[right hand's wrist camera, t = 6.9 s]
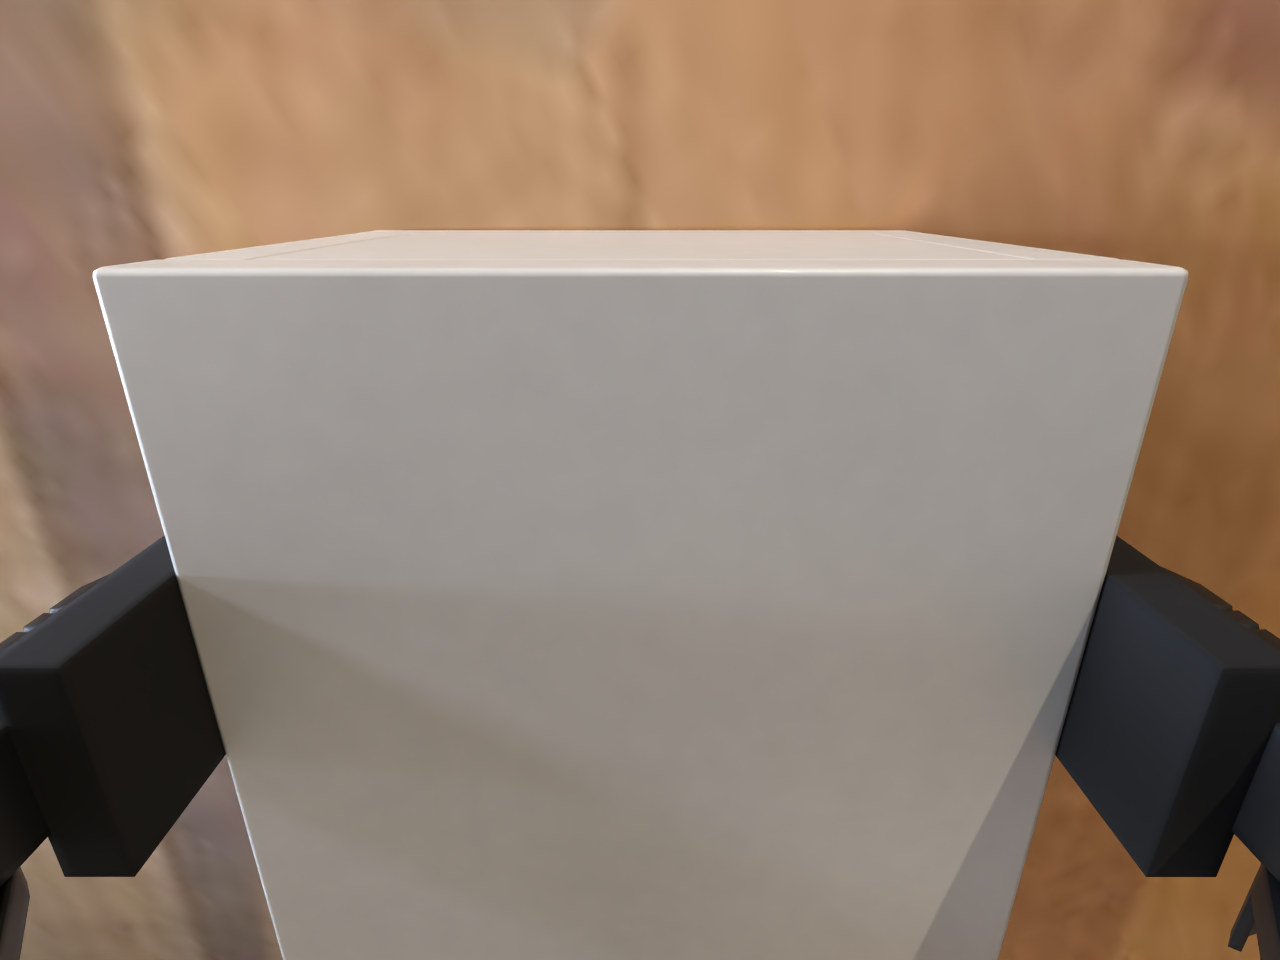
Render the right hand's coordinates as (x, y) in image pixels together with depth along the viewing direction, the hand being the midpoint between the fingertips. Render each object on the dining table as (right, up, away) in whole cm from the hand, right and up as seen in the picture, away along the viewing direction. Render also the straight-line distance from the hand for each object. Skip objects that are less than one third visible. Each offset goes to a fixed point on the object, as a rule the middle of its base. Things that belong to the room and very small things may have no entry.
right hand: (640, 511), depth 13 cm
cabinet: (0, -3, +5) cm, 6 cm away
